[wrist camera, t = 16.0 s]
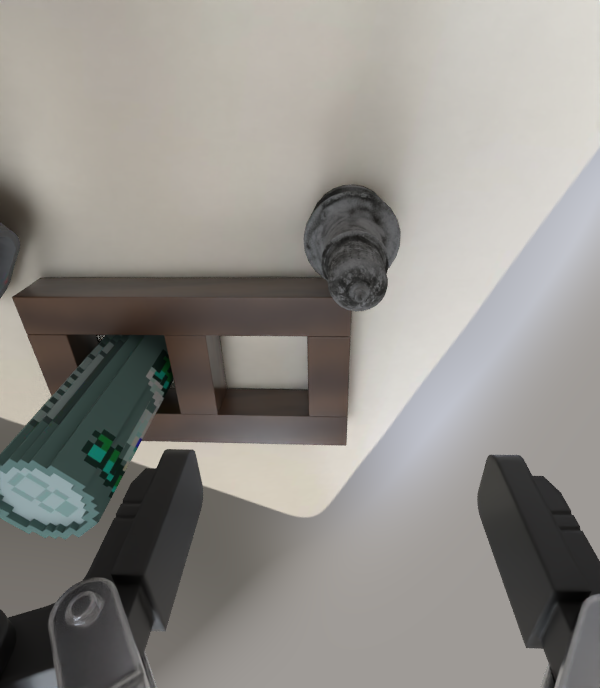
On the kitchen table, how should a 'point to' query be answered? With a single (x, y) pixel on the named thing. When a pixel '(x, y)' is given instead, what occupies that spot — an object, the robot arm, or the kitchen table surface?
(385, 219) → the grey turned piece
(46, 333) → the stand
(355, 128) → the kitchen table surface
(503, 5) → the kitchen table surface
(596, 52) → the kitchen table surface
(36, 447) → the can
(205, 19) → the kitchen table surface
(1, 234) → the bluetooth speaker
